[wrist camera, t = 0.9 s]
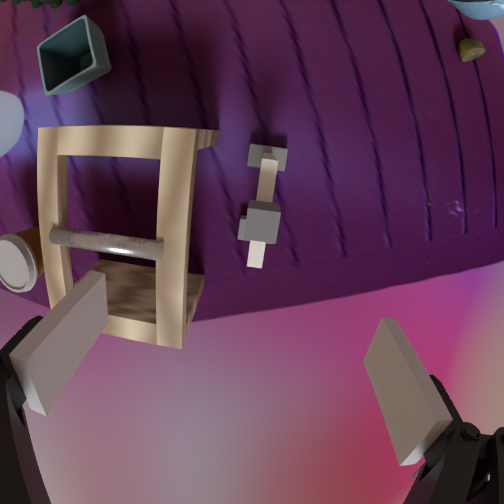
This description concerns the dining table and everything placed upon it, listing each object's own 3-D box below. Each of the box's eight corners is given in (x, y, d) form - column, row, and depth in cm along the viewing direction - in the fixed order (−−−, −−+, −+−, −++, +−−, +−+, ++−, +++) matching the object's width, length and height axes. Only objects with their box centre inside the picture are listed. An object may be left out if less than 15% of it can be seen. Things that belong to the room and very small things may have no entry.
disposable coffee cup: (56, 205, 46) (12, 227, 34) (79, 255, 49) (41, 286, 38) (24, 226, 47) (-17, 249, 36) (46, 270, 50) (9, 301, 39)
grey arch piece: (286, 148, 42) (301, 157, 27) (272, 239, 47) (277, 293, 31) (250, 143, 42) (244, 149, 26) (238, 234, 47) (227, 287, 31)
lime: (476, 53, 34) (493, 49, 29) (467, 71, 35) (484, 68, 31) (458, 35, 33) (474, 29, 28) (448, 52, 34) (465, 47, 30)
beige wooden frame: (219, 130, 41) (193, 129, 25) (203, 286, 50) (180, 354, 34) (103, 124, 41) (33, 128, 25) (101, 270, 50) (49, 323, 34)
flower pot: (67, 54, 36) (35, 45, 28) (113, 28, 35) (85, 12, 27) (78, 99, 39) (45, 96, 31) (125, 74, 38) (97, 65, 30)
